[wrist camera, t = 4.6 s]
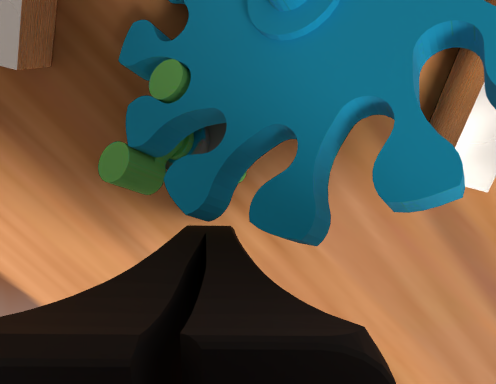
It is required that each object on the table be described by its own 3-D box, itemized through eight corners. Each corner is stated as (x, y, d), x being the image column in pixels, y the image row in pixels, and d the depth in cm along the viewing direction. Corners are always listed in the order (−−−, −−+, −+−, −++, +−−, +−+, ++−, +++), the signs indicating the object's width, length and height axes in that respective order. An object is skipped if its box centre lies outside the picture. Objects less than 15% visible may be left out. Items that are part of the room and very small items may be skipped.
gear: (388, -334, 8) (910, -77, 4) (423, -96, 13) (672, 137, 9) (45, 15, 12) (118, 359, 7) (175, 101, 17) (265, 338, 12)
